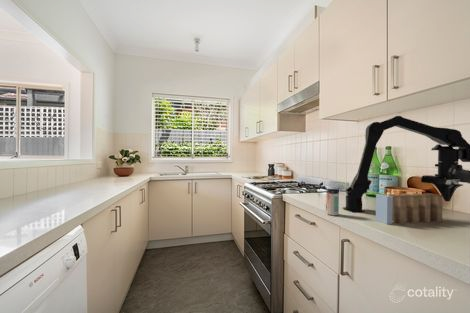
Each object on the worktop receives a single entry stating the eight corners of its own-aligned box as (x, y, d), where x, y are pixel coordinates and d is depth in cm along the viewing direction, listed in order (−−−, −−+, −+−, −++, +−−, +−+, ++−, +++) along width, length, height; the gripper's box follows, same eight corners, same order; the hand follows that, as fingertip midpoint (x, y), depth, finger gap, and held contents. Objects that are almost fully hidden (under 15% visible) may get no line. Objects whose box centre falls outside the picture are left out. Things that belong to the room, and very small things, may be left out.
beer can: (327, 212, 93) (328, 184, 93) (339, 214, 90) (340, 185, 90) (324, 214, 89) (324, 185, 89) (336, 216, 86) (337, 187, 86)
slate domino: (375, 220, 82) (376, 194, 82) (380, 220, 82) (381, 194, 82) (386, 224, 77) (387, 196, 77) (392, 224, 77) (392, 196, 77)
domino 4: (423, 217, 86) (424, 193, 86) (428, 217, 86) (428, 192, 86) (437, 221, 81) (437, 195, 81) (442, 221, 81) (442, 195, 81)
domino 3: (412, 218, 85) (412, 193, 85) (416, 218, 85) (417, 193, 85) (425, 222, 80) (425, 195, 80) (430, 222, 80) (430, 195, 80)
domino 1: (388, 219, 83) (388, 193, 83) (392, 219, 83) (393, 193, 83) (400, 223, 78) (400, 196, 78) (405, 223, 78) (405, 196, 78)
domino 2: (400, 219, 84) (400, 193, 84) (404, 218, 84) (405, 193, 84) (412, 223, 79) (413, 196, 79) (417, 222, 79) (418, 195, 79)
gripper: (452, 162, 75) (451, 206, 75) (494, 162, 78) (493, 205, 78) (420, 161, 86) (419, 200, 86) (457, 161, 89) (457, 199, 89)
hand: (447, 201), depth 84 cm, fingers closed
